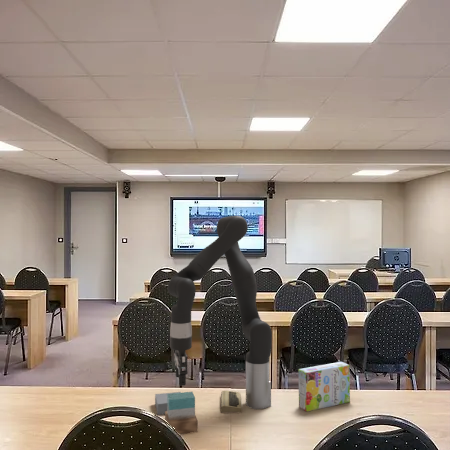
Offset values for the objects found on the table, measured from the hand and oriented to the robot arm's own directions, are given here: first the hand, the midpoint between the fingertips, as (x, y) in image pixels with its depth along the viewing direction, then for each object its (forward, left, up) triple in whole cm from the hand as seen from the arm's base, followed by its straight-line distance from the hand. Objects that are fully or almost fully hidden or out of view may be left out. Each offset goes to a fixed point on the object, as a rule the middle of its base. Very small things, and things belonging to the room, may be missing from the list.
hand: (180, 380), depth 156 cm
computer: (-22, -15, -17) cm, 31 cm away
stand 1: (+2, -17, -16) cm, 23 cm away
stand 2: (0, 0, -16) cm, 16 cm away
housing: (0, 0, -12) cm, 12 cm away
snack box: (-58, -6, -16) cm, 60 cm away
